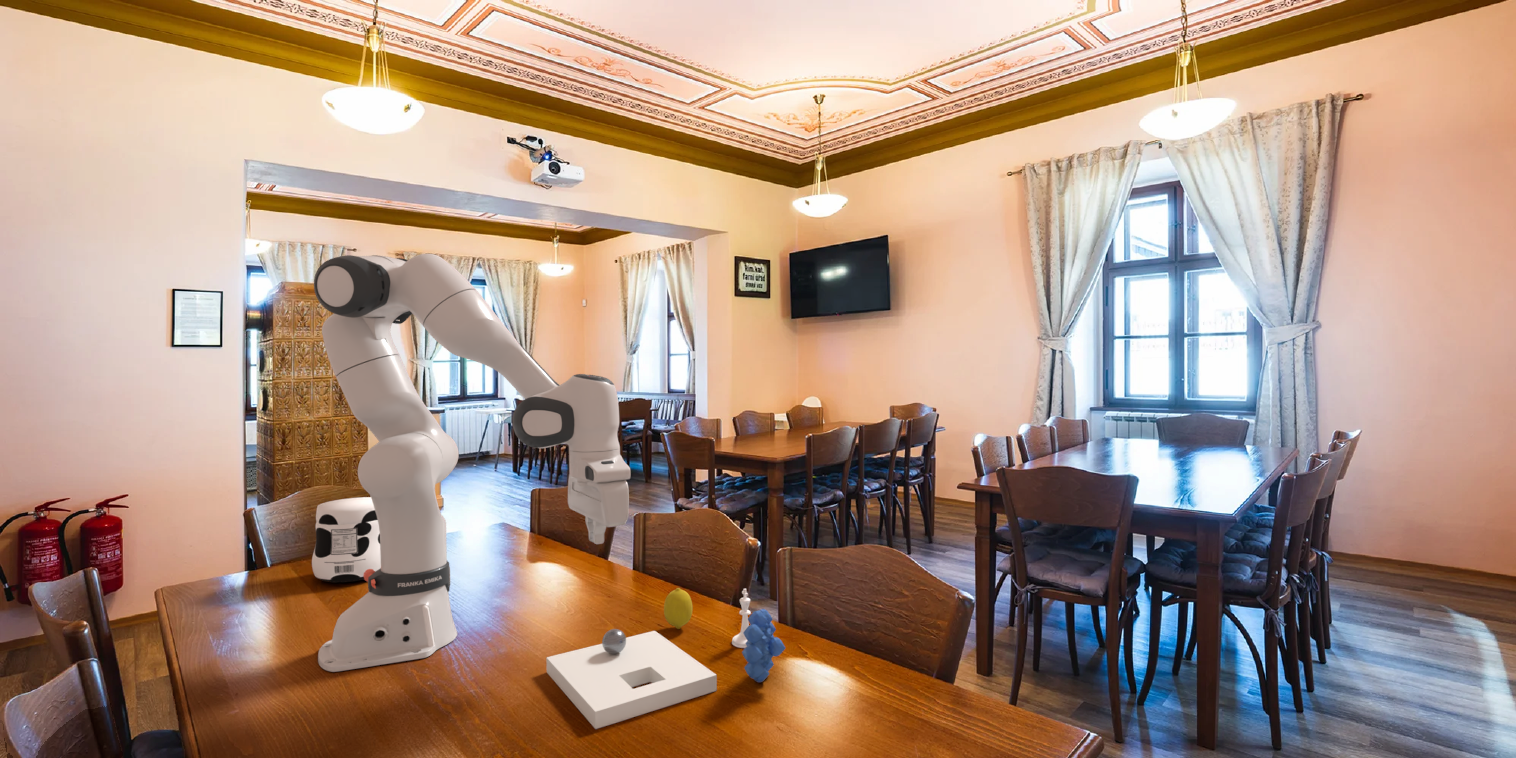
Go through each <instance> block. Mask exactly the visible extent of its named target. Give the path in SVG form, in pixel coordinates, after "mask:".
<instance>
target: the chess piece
mask: <svg viewBox="0 0 1516 758" xmlns="http://www.w3.org/2000/svg"><path fill="white" fill-rule="evenodd" d="M742 589H743V590H742V591H741V594H742V596H743V597H741V598H740V599H739V603H740V605H741V610H739V613H738V614H739V615H740V616H742V619H741V627H740V632H739V633H738V634H735V635H734V636H733V637H732V641H731V644H732V645H733V647H736V648H739V649H740V648H741V649H745V648H746V647H747V645H746V642H747V641H748V640H747V639H746V637H745V635H744V633H743V632H744V631H745V630H746V628H747V627H748V626H750V625H749V624H750V622H749V621H748V618H749V617H748V615H749V616H750V615H751V614H752V613H751V612H752V611H751V610H749V608H750V607H749V606H750V604H751V598H749V593H748V591H747V588H742Z"/></svg>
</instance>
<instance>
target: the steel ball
mask: <svg viewBox="0 0 1516 758" xmlns="http://www.w3.org/2000/svg"><path fill="white" fill-rule="evenodd" d="M626 638H627V637H626V634H625V633H624V631H622V630H620V629H617V628H612V629H610V630H608V631H606V632H605V634H604V635H603V637H602V640H601V641H602V643H601V644H602V645H603V648H604V650H605V651H606V652H608V653H610V654H617V653H619V652H621V651H622V650H623V649H624V647H625V645H626Z"/></svg>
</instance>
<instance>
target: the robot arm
mask: <svg viewBox="0 0 1516 758" xmlns="http://www.w3.org/2000/svg"><path fill="white" fill-rule="evenodd" d="M313 289H314V290H313V291H314V294H315V296H316V298H317V300H318V302H319V304H320V305H321V306H322V307H323V308H324V309H325V310H326V311H329V312H330V313H332V314H331V315H330V316H328V318H326V320H324V322H323V325H322V326H321V335H322V339H323V340H322V341H323V344H324V347H325V351H326V354H327V358H328V361H329V364H330V366H331V368H332V371H333V373H334V377H335V378H336V380H337V383H338V385H339V386H340V389H341V391H342V393H343V396H344V398H345V400H346V402H347V404H348V406H349V408H350V411H351V413H352V415H353V416H354V417H355V419H356V420H358V421H359V422H360V423H362V424H363V425H364V426H365V427H367V429H368V430H369V431H370V432H371V433H372V435H374V437H375V438H376V439H377V440H378V442H376V444H374V445H373V446H371V448H369V449H368V450H367V451H366V452H365V453H364V454H363V455H362V457H361V458H360V461H358V462H359V463H358V467H357V477H358V480H359V483H360V485H361V486H362V489H364V491H366V492H367V493H368V495H369V496H370V497H371V499H372V502H373V505H374V508H375V512H376V515H377V519H378V524H379V531H380V556H381V568H380V569H379V570H377V571H376V572H375V571H374V570H373V569H368V570H366V571H365V572H364V574H365V575H363V576H364V581H366V582H367V585H368V588H367V590H368V592H367V593H365V595H363V596H362V597H361V598H359V599H357V601H355V603H353V604H352V605H351V606H350V607H348V608H347V609H345V611H343V612H342V613H341V614H340V616H339V617H338V619H337V620H336V623H335V626H334V629H333V633H332V639H330V640H327V641H326V642H325V643H323V644H322V646H321V647H320V648H319V650H318V654H317V663H318V665H319V666H320V668H321V669H323V670H324V671H327V672H332V673H335V672H343V671H349V670H350V671H351V670H355V669H356V670H357V669H363V668H368V667H375V666H380V665H381V666H382V665H387V664H394V663H401V662H406V661H407V662H408V661H413V660H419V659H420V660H421V659H425V658H428V657H429V656H431V655H432V654H434V653H435V652H436V651H437V650H439V649H441V648H442V647H445V646H446V645H448V644H450V643H452V642H453V641H454V640H455V639H456V638H457V637H458V630H457V628H456V624H455V622H454V618H453V614H452V609H451V602H450V601H451V600H450V595H449V592H450V590H451V589H450V588H451V567H450V562H449V561H448V559H447V553H448V550H447V547H448V546H447V522H446V518H445V517H444V515H442V513H441V510H440V507H439V503H438V499H437V496H436V485H437V484H439V483H440V482H443V481H445V479H446V478H447V477H448V476H449V475H450V474H451V473H452V472H453V470H454V469H455V467H456V466H457V463H458V460H459V453H460V452H459V448H458V446H457V443H456V442H455V440H454V439H453V438H452V436H451V435H449V434H447V432H445V431H444V429H443V428H442V427H441V425H440V424H439V422H438V420H437V419H436V418H435V416H434V415H433V414H432V412H431V411H430V410H429V409H428V407H427V406H426V404H425V402H424V400H423V399H422V398H421V396H420V395H419V393H418V391H417V389H416V388H415V385H414V383H413V381H412V378H411V377H410V375H409V372H408V371H407V368H406V366H405V364H404V362H403V360H402V358H401V355H400V353H399V351H398V348H396V347H397V346H396V345H395V343H394V340H393V338H392V335H391V327H392V325H393V324H395V325H401V324H403V323H405V321H407V320H408V319H409V318H410V317H411V316H412V315H413V316H414V317H415V318H416V319H417V320H418V322H419V323H420V324H421V325H422V327H423V328H424V329H425V330H426V332H427V333H428V334H429V335H430V336H431V337H432V338H433V339H434V340H435V341H436V342H437V343H438V344H439V345H440V346H442V347H443V348H444V349H445V350H446V351H448V352H449V353H451V354H452V355H454V356H457V357H460V358H463V359H467V360H470V361H473V362H477V363H480V364H481V365H484V366H487V367H489V368H491V369H493V370H495V371H496V372H497V373H499V374H500V375H501V376H503V378H504V379H505V380H507V382H509V384H510V385H512V387H513V388H514V389H515V390H516V391H517V392H518V394H520V396H522V397H523V400H522V401H520V403H518V405H517V406H516V407H515V410H514V412H513V415H512V429H513V431H514V434H515V436H516V437H517V438H518V440H519V441H520V442H521V443H522V444H524V445H526V446H528V447H531V448H536V449H547V448H551V447H556V446H559V445H561V444H565V445H567V447H568V454H569V455H568V461H569V463H568V465H569V474H568V482H567V505H568V508H569V509H570V510H571V511H575V512H576V513H578V514H580V515H582V516H584V517H585V518H584V519H585V525H586V528H587V531H588V540H589V541H590V542H591V543H594V544H596V545H602V544H604V542H605V532H606V529H607V528H614V527H619V526H625V525H626V523H627V522H628V519H629V509H630V494H629V493H630V490H629V484H628V481H627V480H630V479H631V473H632V472H631V467H630V466H629V465H628V464H627V463H626V462H625V461H624V460H625V459H624V458H623V457H622V455H621V446H620V442H619V437H618V431H619V427H620V406H619V405H620V404H619V399H618V396H619V395H618V391H617V388H616V385H615V383H614V382H613V381H612V380H611V379H609V378H608V377H603V376H601V375H594V374H586V373H577V374H573V375H572V376H571V377H570V378H568V379H567V380H566V381H565V382H563V383H561V384H560V383H558V382H557V381H556V380H555V379H553V378H552V376H550V374H549V373H548V372H547V371H546V370H545V368H543V367H542V366H541V365H540V363H538V361H536V359H535V358H534V357H533V356H532V355H531V354H530V353H529V352H528V351H527V350H526V349H525V347H523V346H522V345H521V343H519V341H518V340H516V338H515V337H514V335H513V334H512V332H510V330H509V329H508V328H507V326H506V325H504V323H503V321H501V319H500V318H499V317H498V315H497V314H496V312H494V310H493V309H492V307H491V306H490V305H489V303H488V302H487V301H486V300H485V299H484V297H483V296H482V295H481V293H480V292H479V291H478V290H477V289H476V288H475V287H474V286H473V284H472V283H470V281H469V280H468V279H467V278H466V277H465V276H464V275H463V274H462V273H461V272H460V271H459V270H457V269H456V268H455V267H454V266H453V265H452V264H451V263H450V262H448V261H447V260H445V259H444V258H443V257H441V256H439V255H437V254H434V253H421V254H418V255H416V256H413V257H411V258H409V259H405V258H400V257H399V258H398V257H391V256H386V255H378V254H377V255H374V254H373V255H358V256H357V255H352V254H351V255H350V254H348V255H340V256H336V257H332V258H329V259H328V260H325V261H324V262H323V263H321V265H320V266H319V267H318V268H317V270H316V272H315V274H314V278H313Z"/></svg>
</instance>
